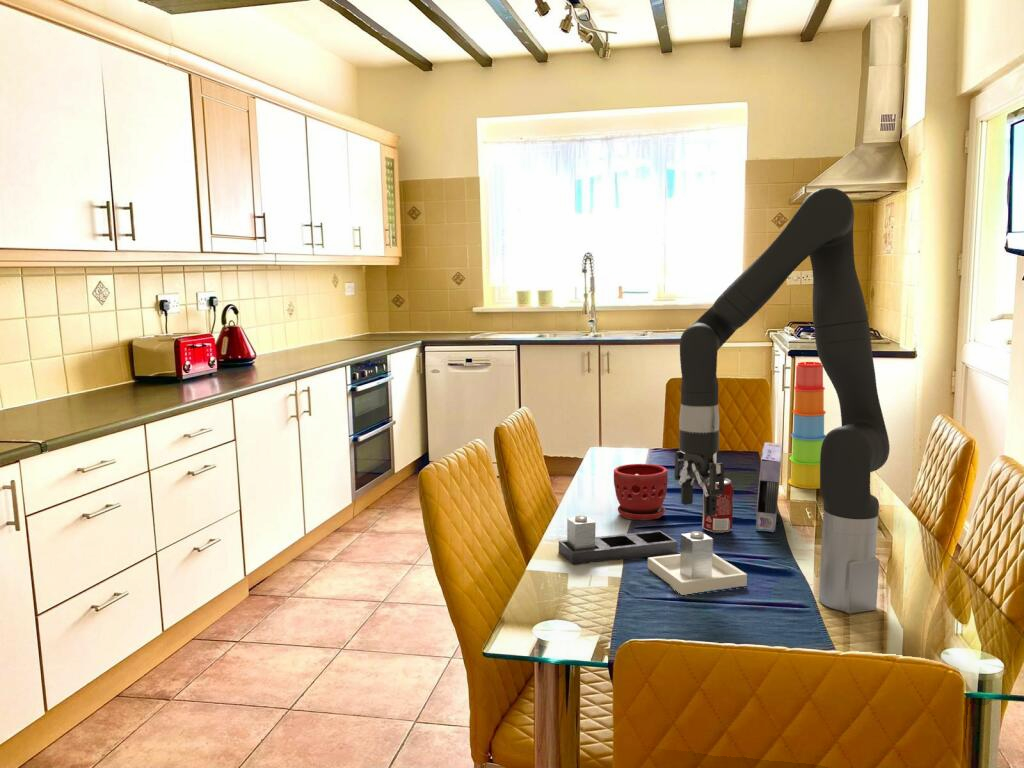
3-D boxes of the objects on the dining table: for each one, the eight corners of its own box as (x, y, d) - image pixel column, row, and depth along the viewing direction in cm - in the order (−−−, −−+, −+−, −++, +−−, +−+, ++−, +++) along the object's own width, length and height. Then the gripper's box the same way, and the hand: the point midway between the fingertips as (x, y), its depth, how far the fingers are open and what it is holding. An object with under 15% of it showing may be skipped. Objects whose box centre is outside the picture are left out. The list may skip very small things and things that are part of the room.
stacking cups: (830, 490, 229) (837, 364, 224) (791, 488, 231) (797, 364, 226) (822, 480, 239) (829, 360, 234) (785, 479, 241) (791, 359, 236)
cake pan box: (777, 535, 191) (780, 460, 189) (754, 533, 193) (757, 458, 190) (779, 512, 209) (782, 442, 207) (758, 510, 211) (761, 441, 208)
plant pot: (660, 507, 213) (661, 461, 211) (671, 523, 200) (673, 474, 198) (609, 508, 213) (610, 462, 211) (617, 524, 200) (618, 475, 198)
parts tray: (746, 587, 161) (747, 574, 160) (681, 595, 157) (682, 582, 156) (708, 562, 174) (708, 550, 174) (647, 569, 170) (647, 557, 169)
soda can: (732, 536, 191) (734, 484, 189) (702, 534, 192) (704, 483, 190) (731, 526, 197) (733, 477, 196) (701, 525, 199) (703, 476, 197)
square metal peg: (595, 559, 174) (595, 519, 173) (574, 561, 173) (575, 521, 172) (586, 552, 179) (587, 513, 177) (567, 554, 177) (567, 515, 176)
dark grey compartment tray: (677, 555, 178) (677, 541, 178) (572, 567, 171) (572, 553, 171) (659, 543, 186) (659, 530, 186) (558, 554, 179) (558, 541, 178)
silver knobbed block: (711, 578, 164) (713, 535, 162) (691, 580, 162) (692, 538, 161) (699, 570, 168) (701, 528, 167) (679, 572, 167) (681, 531, 165)
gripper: (737, 432, 155) (735, 517, 157) (696, 420, 168) (695, 498, 170) (701, 435, 153) (700, 521, 155) (663, 422, 166) (663, 502, 168)
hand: (698, 509), depth 163 cm, fingers open, 8 cm apart
